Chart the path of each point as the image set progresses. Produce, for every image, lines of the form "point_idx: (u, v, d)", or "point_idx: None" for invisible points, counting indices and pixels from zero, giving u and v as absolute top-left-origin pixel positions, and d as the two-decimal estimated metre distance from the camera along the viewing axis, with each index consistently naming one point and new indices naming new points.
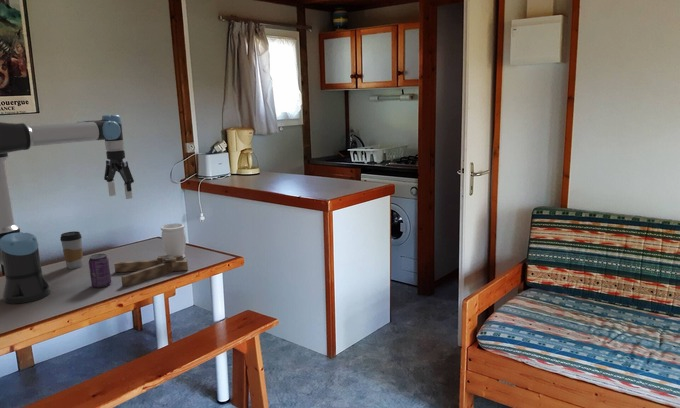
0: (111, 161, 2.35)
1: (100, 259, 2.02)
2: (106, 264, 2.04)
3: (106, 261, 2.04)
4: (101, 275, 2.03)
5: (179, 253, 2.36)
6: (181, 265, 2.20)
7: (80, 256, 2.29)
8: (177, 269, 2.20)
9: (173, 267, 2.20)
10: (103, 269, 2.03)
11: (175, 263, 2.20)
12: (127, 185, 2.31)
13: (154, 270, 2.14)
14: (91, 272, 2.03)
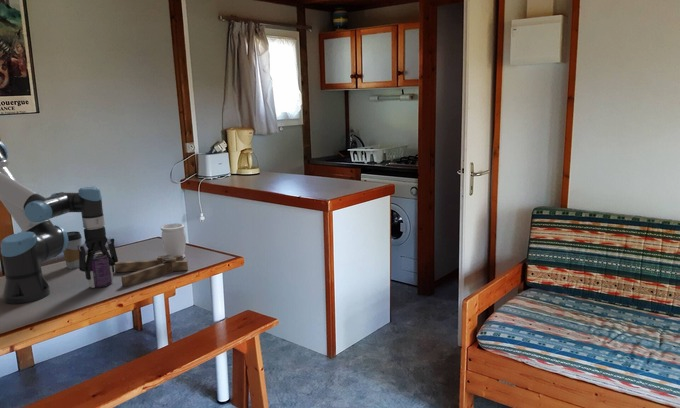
0: None
1: (100, 259, 2.02)
2: (106, 264, 2.04)
3: (106, 261, 2.04)
4: (101, 275, 2.03)
5: (179, 253, 2.36)
6: (181, 265, 2.20)
7: None
8: (177, 269, 2.20)
9: (173, 267, 2.20)
10: (103, 269, 2.03)
11: (175, 263, 2.20)
12: None
13: (154, 270, 2.14)
14: None
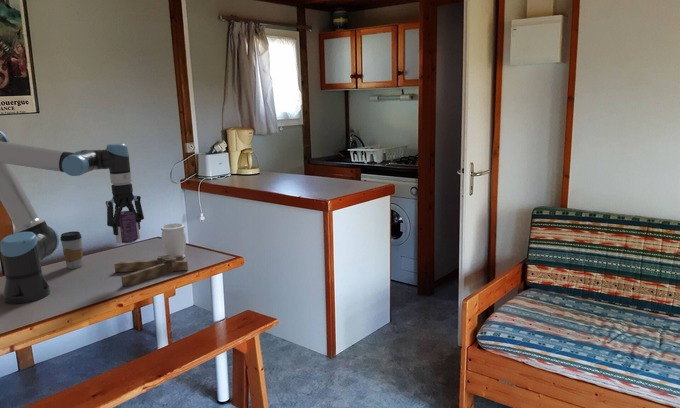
0: None
1: (127, 215, 2.05)
2: (133, 220, 2.07)
3: (133, 217, 2.07)
4: (128, 230, 2.06)
5: (179, 253, 2.36)
6: (181, 265, 2.20)
7: (80, 256, 2.29)
8: (177, 269, 2.20)
9: (173, 267, 2.20)
10: (130, 225, 2.06)
11: (175, 263, 2.20)
12: None
13: (154, 270, 2.14)
14: None
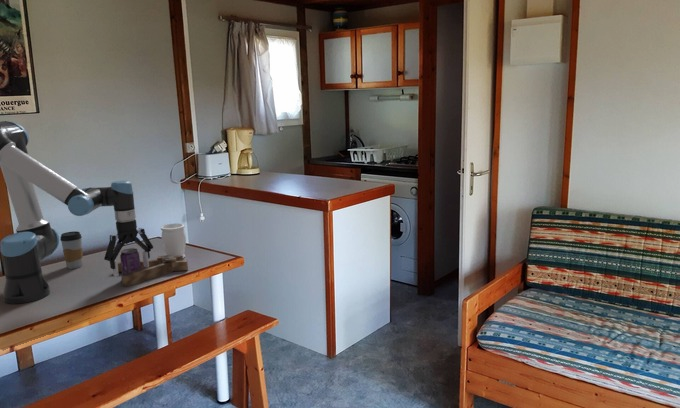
0: None
1: (131, 253, 2.08)
2: (137, 258, 2.10)
3: (137, 255, 2.10)
4: (132, 269, 2.09)
5: (179, 253, 2.36)
6: (181, 265, 2.20)
7: (80, 256, 2.29)
8: (177, 269, 2.20)
9: (173, 267, 2.20)
10: (134, 263, 2.09)
11: (175, 263, 2.20)
12: None
13: (154, 270, 2.14)
14: (123, 266, 2.09)
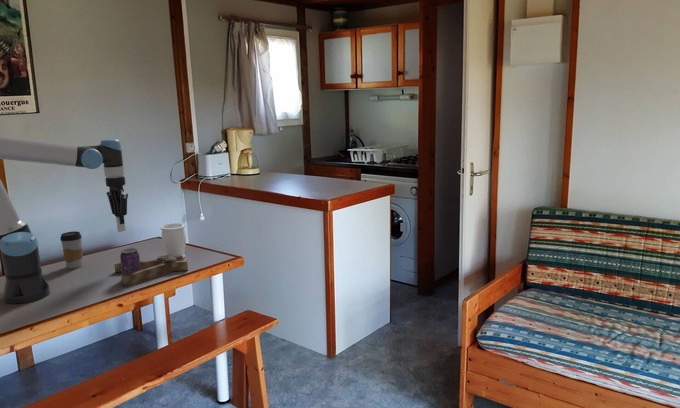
0: (110, 187, 2.22)
1: (131, 253, 2.08)
2: (137, 258, 2.10)
3: (137, 255, 2.10)
4: (132, 269, 2.09)
5: (179, 253, 2.36)
6: (181, 265, 2.20)
7: (80, 256, 2.29)
8: (177, 269, 2.20)
9: (173, 267, 2.20)
10: (134, 263, 2.09)
11: (175, 263, 2.20)
12: (120, 218, 2.23)
13: (154, 270, 2.14)
14: (123, 266, 2.09)
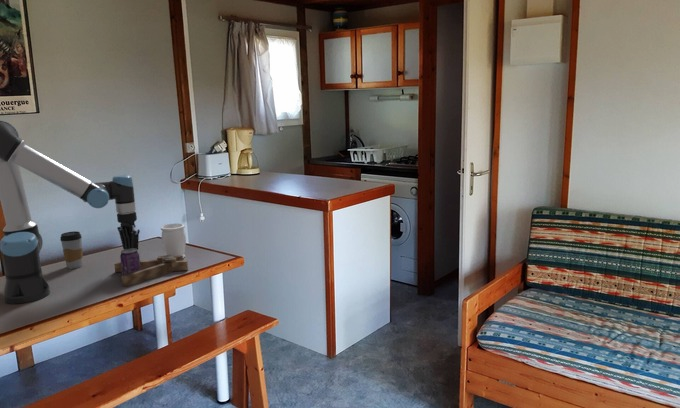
0: (121, 222, 2.22)
1: (131, 253, 2.08)
2: (137, 258, 2.10)
3: (137, 255, 2.10)
4: (132, 269, 2.09)
5: (179, 253, 2.36)
6: (181, 265, 2.20)
7: (80, 256, 2.29)
8: (177, 269, 2.20)
9: (173, 267, 2.20)
10: (134, 263, 2.09)
11: (175, 263, 2.20)
12: None
13: (154, 270, 2.14)
14: (123, 266, 2.09)
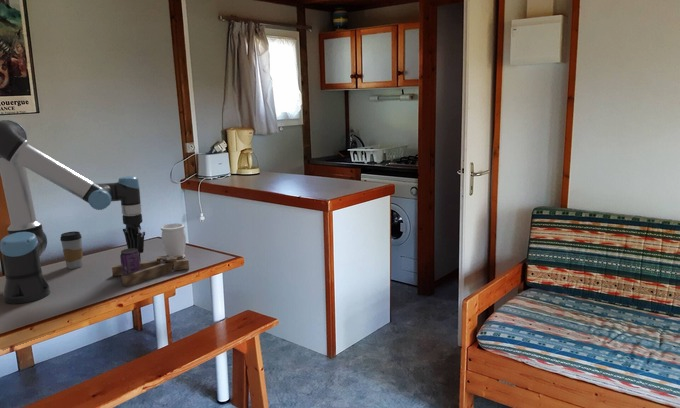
0: (126, 224, 2.19)
1: (131, 253, 2.08)
2: (137, 258, 2.10)
3: (137, 255, 2.10)
4: (132, 269, 2.09)
5: (179, 253, 2.36)
6: (183, 264, 2.22)
7: (80, 256, 2.29)
8: (179, 268, 2.21)
9: (175, 266, 2.21)
10: (134, 263, 2.09)
11: (177, 262, 2.21)
12: None
13: (154, 270, 2.14)
14: (123, 266, 2.09)
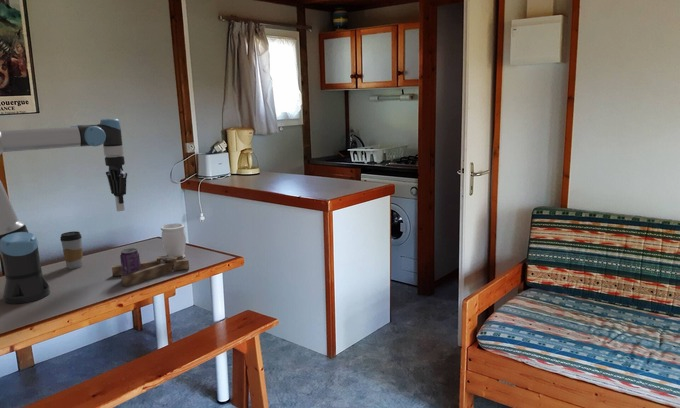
0: (109, 167, 2.23)
1: (131, 253, 2.08)
2: (137, 258, 2.10)
3: (137, 255, 2.10)
4: (132, 269, 2.09)
5: (179, 253, 2.36)
6: (183, 264, 2.22)
7: (80, 256, 2.29)
8: (179, 268, 2.21)
9: (175, 266, 2.21)
10: (134, 263, 2.09)
11: (177, 262, 2.21)
12: (119, 197, 2.24)
13: (154, 270, 2.14)
14: (123, 266, 2.09)
